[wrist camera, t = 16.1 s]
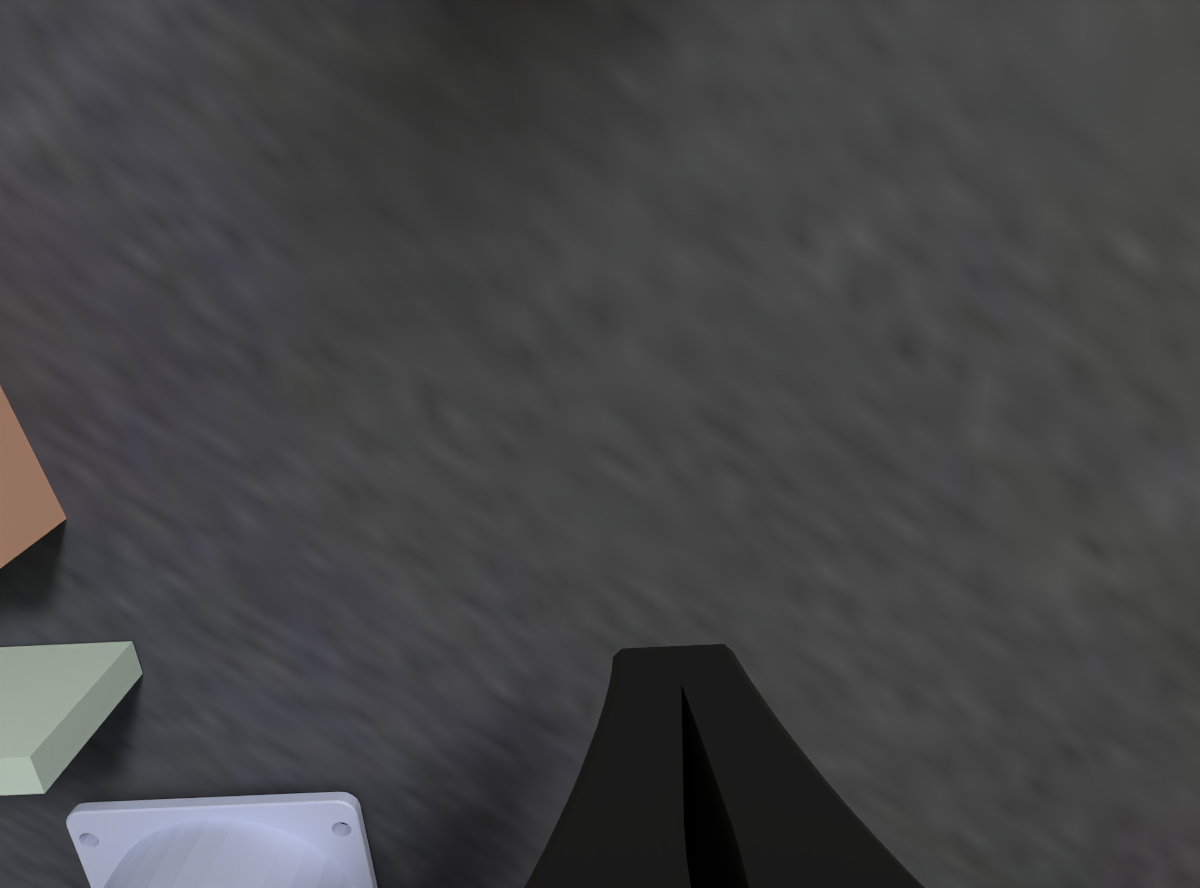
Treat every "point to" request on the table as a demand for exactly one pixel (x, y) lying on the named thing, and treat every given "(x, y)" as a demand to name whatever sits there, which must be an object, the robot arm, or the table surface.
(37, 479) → the terracotta tile
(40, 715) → the box
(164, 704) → the table surface
